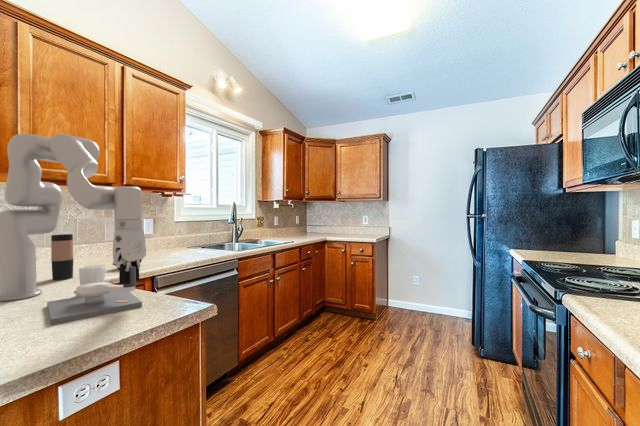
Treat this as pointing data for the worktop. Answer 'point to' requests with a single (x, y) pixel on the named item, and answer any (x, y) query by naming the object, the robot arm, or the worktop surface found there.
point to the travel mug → (62, 256)
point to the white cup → (92, 274)
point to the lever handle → (106, 287)
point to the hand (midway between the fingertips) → (129, 281)
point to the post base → (90, 306)
